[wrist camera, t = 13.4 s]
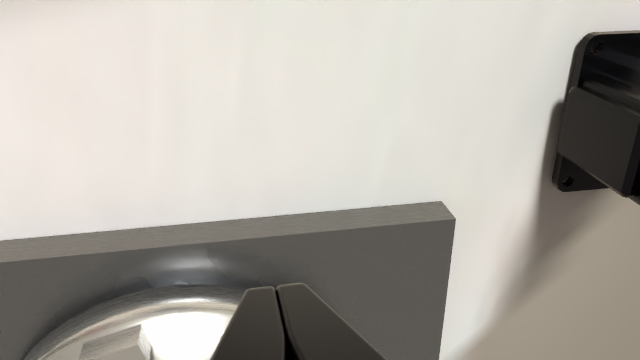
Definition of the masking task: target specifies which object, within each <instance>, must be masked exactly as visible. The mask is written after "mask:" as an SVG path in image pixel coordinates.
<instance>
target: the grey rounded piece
mask: <svg viewBox="0 0 640 360" xmlns="http://www.w3.org/2000/svg"><path fill="white" fill-rule="evenodd" d="M246 290H247V289H244V288H238V287H232V286H224V285H207V284H192V285H172V286H166V287H160V288H153V289H147V290H142V291H139V292H135V293H131V294H127V295H123V296H120V297H117V298H114V299H112V300H109V301H106V302H104V303H101V304H99V305H96V306H93V307H91V308H90V309H88V310H86V311H84V312H82V313H80V314H78V315H76V316H74V317H72V318H70V319H69V320H67V321H66V322H65V323H63V324H62V325H60V326H59V327H57V328H56V329H54V330H53V331H52V332H50V333H49V334H48V335H47V336H46V337H44V338H43V339H42V340H41V341H40V342H39V343H38V344H37V345H36V346H35V347H33V348H32V349H31V351H30V352H29V353H28V354H27V355H26V357H25V358H24V359H23V360H210V358H211V357H212V355H213V353H214V351H215V349H216V347H217V345H218V343H219V341H220V339H221V337H222V335H223V333H224V331H225V329H226V328H227V326H228V324H229V322H230V320H231V318H232V316H233V314H234V312H235V310H236V308H237V306H238V304H239V302H240V300H241V298H242V297H243V295H244V293H245V291H246Z"/></svg>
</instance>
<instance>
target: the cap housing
mask: <svg viewBox="0 0 640 360" xmlns="http://www.w3.org/2000/svg"><path fill="white" fill-rule="evenodd" d="M455 221H456V219H455V217H454V216H453V215H452V214H451V212H450V211H449V210H448V209H447V207H446V206H445V205H444V204H443V203H442V201H439V202H427V203H416V204H405V205H394V206H383V207H372V208H361V209H350V210H338V211H327V212H316V213H305V214H294V215H283V216H272V217H260V218H249V219H238V220H227V221H216V222H205V223H194V224H183V225H171V226H160V227H149V228H138V229H127V230H116V231H105V232H93V233H82V234H71V235H60V236H49V237H38V238H27V239H15V240H4V241H0V360H23V359H24V358H25V357H26V355H27V354H28V353H29V352H30V351H31V349H32V348H33V347H35V346H36V345H37V344H38V343H39V342H40V341H41V340H42V339H43V338H44V337H46V336H47V335H48V334H49V333H50V332H52V331H53V330H54V329H56V328H57V327H59V326H60V325H62V324H63V323H65V322H66V321H67V320H69V319H70V318H72V317H74V316H76V315H78V314H80V313H82V312H84V311H86V310H88V309H90V308H91V307H93V306H96V305H99V304H101V303H104V302H106V301H109V300H112V299H114V298H117V297H120V296H123V295H127V294H131V293H135V292H139V291H142V290H147V289H153V288H160V287H166V286H172V285H192V284H207V285H224V286H232V287H238V288H244V289H250V288H258V287H267V286H272V287H274V288H275V290H276V288H277V287H278V286H279V285H285V284H294V283H304V284H306V285H307V286H308V287H309V288H310V289H311V290H312V291H313V292H315V293H316V294H317V295H318V296H319V297H320V298H321V299H322V300H323V301H324V302H325V303H326V304H328V305H329V306H330V307H331V308H332V309H333V310H334V311H335V312H336V313H337V314H338V315H339V316H341V317H342V318H343V319H344V320H345V321H346V322H347V323H348V324H349V325H350V326H351V327H352V328H354V329H355V330H356V331H357V332H358V333H359V334H360V335H361V336H362V337H363V338H364V339H365V340H366V341H368V342H369V343H370V344H371V345H372V346H373V347H374V348H375V349H376V350H377V351H378V352H379V353H381V354H382V355H383V356H384V357H385V358H386V359H387V360H439V353H440V345H441V337H442V329H443V320H444V312H445V304H446V296H447V287H448V279H449V271H450V263H451V254H452V246H453V238H454V230H455Z"/></svg>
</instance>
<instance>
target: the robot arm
mask: <svg viewBox="0 0 640 360" xmlns="http://www.w3.org/2000/svg"><path fill="white" fill-rule="evenodd" d="M595 42H597V46H596V48H595V50H594V51H593V52H591V47H592V45H593V44H594V43H595ZM557 150H558V151H557V156H556V161H555V166H554V171H553V176H552V183H553V185H554V186H555V187H557V188H558V189H559V190H561V191H562V192H571V191H582V190H593V189H604V188H611V189H612V190H614V191H615V192H616V193H618V194H619V195H621V196H622V197H628V198H630V199H631V200H633V201H634V202H636V203H637V204H639V205H640V31H614V32H593V33H589V34H587V35H586V36H584V37H583V39H582V40H581V41H580V44H579V47H578V52H577V57H576V62H575V67H574V72H573V77H572V82H571V87H570V91H569V93H568V96H567V101H566V106H565V111H564V116H563V121H562V126H561V131H560V136H559V141H558V146H557ZM567 176H569V177H568V179H567V180H566V181H565V182H563V180H564V178H566V177H567ZM210 360H387V359H386V358H385V357H384V356H383V355H382V354H381V353H379V352H378V351H377V350H376V349H375V348H374V347H373V346H372V345H371V344H370V343H369V342H368V341H366V340H365V339H364V338H363V337H362V336H361V335H360V334H359V333H358V332H357V331H356V330H355V329H354V328H352V327H351V326H350V325H349V324H348V323H347V322H346V321H345V320H344V319H343V318H342V317H341V316H339V315H338V314H337V313H336V312H335V311H334V310H333V309H332V308H331V307H330V306H329V305H328V304H326V303H325V302H324V301H323V300H322V299H321V298H320V297H319V296H318V295H317V294H316V293H315V292H313V291H312V290H311V289H310V288H309V287H308V286H307V285H306V284H304V283H294V284H285V285H279V286H278V287H277V288H276V290H275V288H274V287H272V286H267V287H258V288H250V289H247V290H246V291H245V293H244V295H243V297H242V298H241V300H240V302H239V304H238V306H237V308H236V310H235V312H234V314H233V316H232V318H231V320H230V322H229V324H228V326H227V328H226V329H225V331H224V333H223V335H222V337H221V339H220V341H219V343H218V345H217V347H216V349H215V351H214V353H213V355H212V357H211V358H210Z"/></svg>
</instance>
